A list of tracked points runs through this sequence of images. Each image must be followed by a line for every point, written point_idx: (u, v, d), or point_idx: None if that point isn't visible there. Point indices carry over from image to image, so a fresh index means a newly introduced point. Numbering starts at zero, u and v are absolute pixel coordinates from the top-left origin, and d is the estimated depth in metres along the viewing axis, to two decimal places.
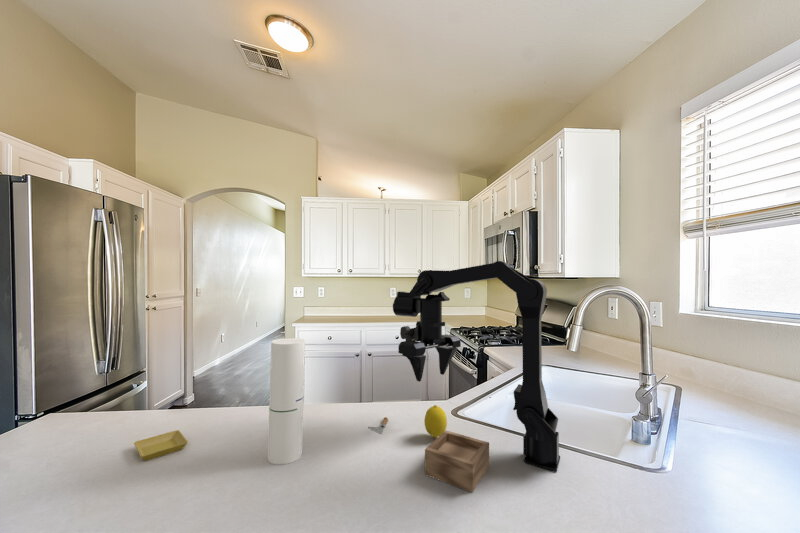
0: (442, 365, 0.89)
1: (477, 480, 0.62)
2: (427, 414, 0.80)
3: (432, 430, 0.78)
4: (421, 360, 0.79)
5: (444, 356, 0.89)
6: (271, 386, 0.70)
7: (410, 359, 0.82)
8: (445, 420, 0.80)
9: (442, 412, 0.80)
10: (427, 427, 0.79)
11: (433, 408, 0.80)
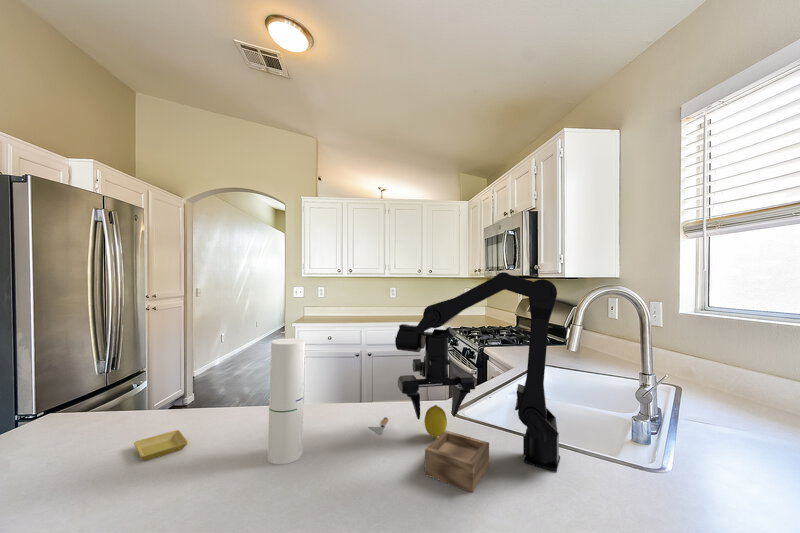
0: (453, 406, 0.82)
1: (477, 480, 0.62)
2: (427, 414, 0.80)
3: (432, 430, 0.78)
4: (414, 398, 0.77)
5: (455, 397, 0.82)
6: (271, 386, 0.70)
7: None
8: (445, 420, 0.80)
9: (442, 412, 0.80)
10: (427, 427, 0.79)
11: (433, 408, 0.80)
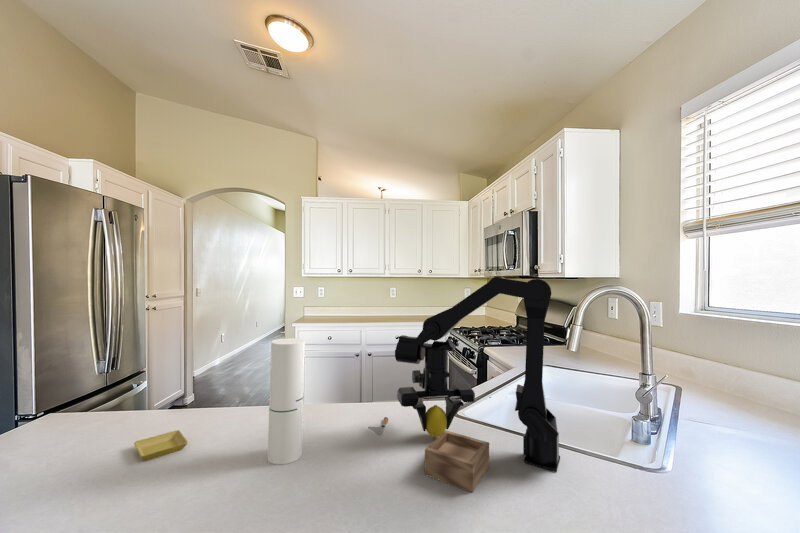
0: None
1: (477, 480, 0.62)
2: (427, 414, 0.80)
3: (432, 430, 0.78)
4: (420, 410, 0.77)
5: (448, 409, 0.81)
6: (271, 386, 0.70)
7: None
8: (445, 420, 0.80)
9: (442, 412, 0.80)
10: (427, 427, 0.79)
11: (433, 408, 0.80)
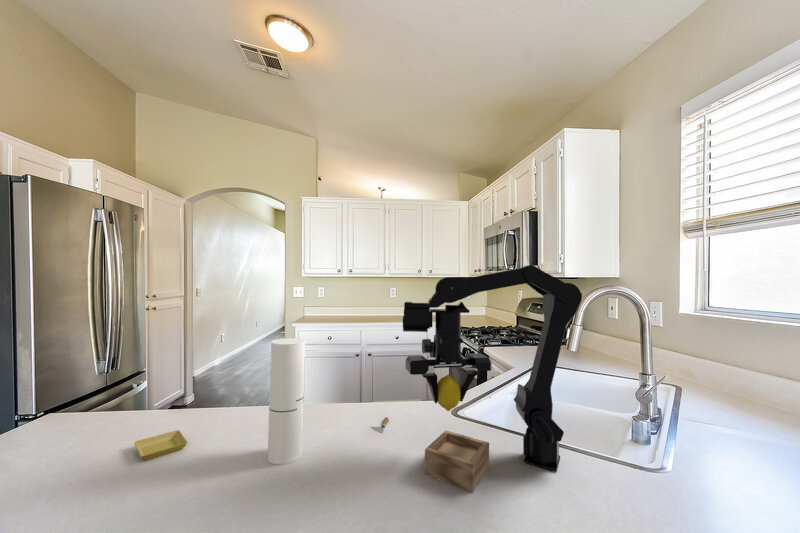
0: (460, 390, 0.74)
1: (477, 480, 0.62)
2: (439, 384, 0.73)
3: (444, 402, 0.71)
4: (430, 379, 0.70)
5: (462, 380, 0.74)
6: (271, 386, 0.70)
7: None
8: (459, 391, 0.72)
9: (455, 382, 0.73)
10: (439, 398, 0.72)
11: (445, 378, 0.73)
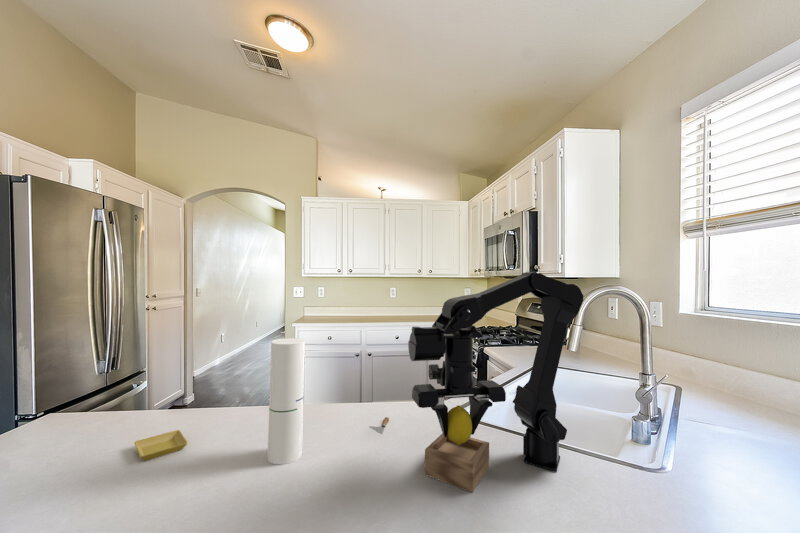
0: None
1: (477, 480, 0.62)
2: (448, 416, 0.67)
3: (455, 436, 0.65)
4: (440, 412, 0.64)
5: (474, 411, 0.68)
6: (271, 386, 0.70)
7: None
8: (470, 424, 0.66)
9: (467, 414, 0.66)
10: (449, 432, 0.66)
11: (456, 409, 0.67)
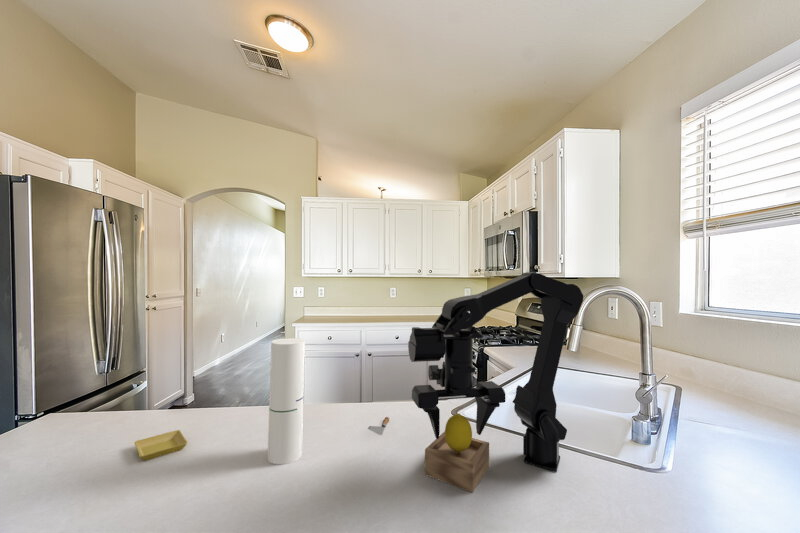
0: (478, 422, 0.68)
1: (477, 480, 0.62)
2: (448, 425, 0.66)
3: (455, 445, 0.65)
4: (432, 414, 0.64)
5: (481, 411, 0.68)
6: (271, 386, 0.70)
7: None
8: (470, 432, 0.66)
9: (467, 422, 0.66)
10: (449, 440, 0.66)
11: (456, 417, 0.67)
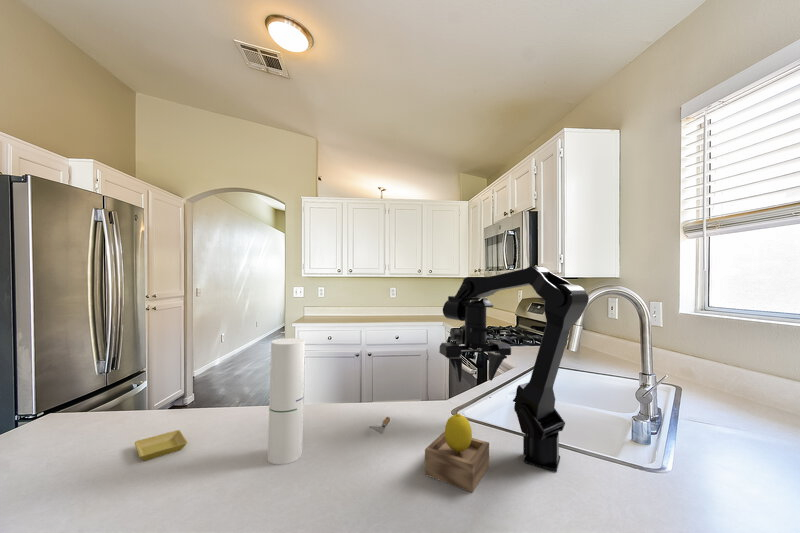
0: (490, 371, 0.89)
1: (477, 480, 0.62)
2: (448, 424, 0.67)
3: (455, 444, 0.65)
4: (456, 362, 0.84)
5: (492, 362, 0.89)
6: (271, 386, 0.70)
7: (451, 360, 0.88)
8: (470, 432, 0.66)
9: (466, 422, 0.66)
10: (448, 440, 0.66)
11: (455, 417, 0.67)
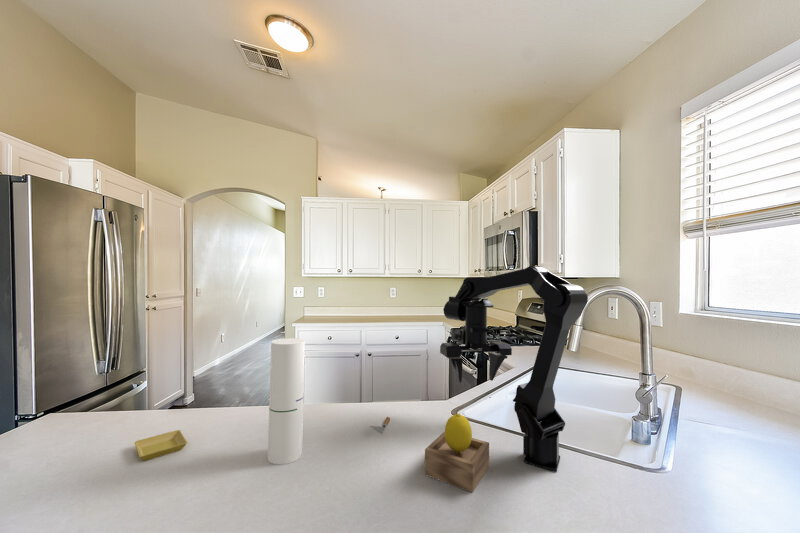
0: (491, 371, 0.89)
1: (477, 480, 0.62)
2: (448, 424, 0.67)
3: (455, 444, 0.65)
4: (457, 362, 0.84)
5: (493, 362, 0.89)
6: (271, 386, 0.70)
7: (451, 360, 0.88)
8: (470, 432, 0.66)
9: (466, 422, 0.66)
10: (448, 440, 0.66)
11: (455, 417, 0.67)
